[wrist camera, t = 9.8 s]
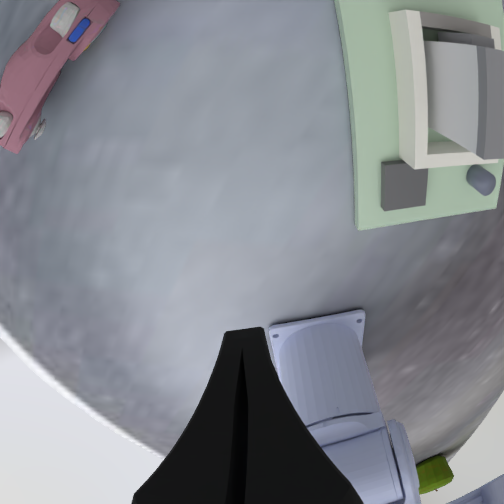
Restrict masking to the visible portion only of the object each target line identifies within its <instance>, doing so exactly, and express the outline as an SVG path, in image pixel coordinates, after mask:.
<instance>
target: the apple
mask: <svg viewBox="0 0 504 504" xmlns="http://www.w3.org/2000/svg"><path fill="white" fill-rule="evenodd" d="M416 470H417V474H418V479H419V488H418V490H419V495H420V494H424V493H427V492H430V491H433V490H436V489H437V488H440V487H442V486H445V485H446V484H448V483H450V482H451V481H452V479H453V477H454V475H453V473H452V470H451V469H450V467H449V465H448V463H447V461H446V458H445V457H443V456H439V455H438V456H434V457H432V458H429V459H427V460H425V461H423V462H422V463H420V464H418V465H417V466H416ZM436 491H437V490H436Z"/></svg>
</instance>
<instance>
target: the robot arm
mask: <svg viewBox="0 0 504 504" xmlns="http://www.w3.org/2000/svg"><path fill="white" fill-rule="evenodd" d="M364 324H365V312H364V311H363V310H355V311H350V312H345V313H340V314H335V315H329V316H324V317H319V318H313V319H307V320H302V321H296V322H290V323H284V324H277V325H272V326H271V327H269V335H270V340H271V344H272V349H273V353H274V358H275V362H276V367H277V371H278V375H277V373H276V371H275V368H274V366H273V363H272V361H271V357H270V353H269V349H268V345H267V341H266V336H265V332H264V328H262V327H255V328H248V329H241V330H233V331H226V333H225V334H224V337H223V341H222V345H221V348H220V351H219V355H218V358H217V361H216V364H215V366H214V369H213V372H212V374H211V377H210V379H209V382H208V384H207V387H206V389H205V391H204V393H203V395H202V398H201V400H200V402H199V404H198V406H197V408H196V410H195V412H194V414H193V416H192V418H191V420H190V421H189V423H188V425H187V427H186V428H185V430H184V431H183V433H182V435H181V436H180V438H179V439H178V441H177V442H176V444H175V445H174V447H173V448H172V450H171V451H170V453H169V454H168V455H167V456H166V458H165V459H164V460H163V462H162V463H161V464H160V466H159V467H158V468H157V469H156V471H155V472H154V473H153V474H152V475H151V476H150V477H149V479H148V480H147V481H146V482H145V483H144V484H143V485H142V486H141V487H140V488H139V489H138V490H137V491H136V492H135V493H134V496H133V500H132V504H421V500H420V495H419V490H418V488H419V479H418V474H417V470H416V466H415V461H414V458H413V454H412V450H411V447H410V443H409V440H408V436H407V433H406V430H405V428H404V425H403V424H402V423H400V422H396V420H395V419H392V420H389V421H387V423H388V427H389V430H390V437H389V433H388V430H387V426H386V423H385V420H384V417H383V414H382V412H381V410H380V406H379V403H378V400H377V396H376V393H375V389H374V386H373V383H372V379H371V376H370V373H369V370H368V367H367V363H366V360H365V357H364V354H363V351H362V341H363V333H364ZM278 376H279V377H278ZM390 438H391V441H390ZM391 442H392V445H391ZM392 446H393V448H392ZM399 475H400V476H399ZM400 478H401V479H400ZM446 504H504V474H503V475H501V476H499V477H497V478H496V479H494V480H492V481H491V482H488V483H487V484H485V485H483V486H482V487H480V488H478V489H476V490H474V491H472V492H470V493H468V494H466V495H464V496H462V497H460V498H458V499H456V500H454V501H451V502H449V503H446Z"/></svg>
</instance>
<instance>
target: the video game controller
mask: <svg viewBox="0 0 504 504" xmlns="http://www.w3.org/2000/svg"><path fill="white" fill-rule="evenodd" d="M119 6H120V3H119V2H118V1H116V0H59V1H58V2H57V3H56V4H55V6H54V7H53V8H52V9H51V10H50V11H49V12H48V13H47V15H46V16H45V17H44V19H43V20H42V21H41V23H40V24H39V25H38V27H37V28H36V30H35V31H34V32H33V34H32V35H31V36H30V37H29V39H28V40H27V41H26V42H24V43H23V44H22V45H21V46H20V47H19V48H18V49H17V51H16V52H15V53H14V54H13V55H12V56H11V58H10V60H9V61H8V63H7V65H6V67H5V71H4V74H3V77H2V80H1V84H0V145H1V146H3V148H5V149H7V150H9V151H11V152H14V153H16V154H18V153H19V151H20V150H21V148H22V146H23V144H24V143H25V142H26V141H27V140H28V138H29V137H31V136H32V135H33V134H35V133H36V135H35V137H34V140H35V139H37V138H38V137H39V136H41V135H42V133H43V131H44V129H45V127H46V125H45V124H46V119H44V120H43V121H42V123H41V124H40V121H41V110H42V107H43V105H44V103H45V101H46V99H47V97H48V95H49V93H50V91H51V89H52V87H53V86H54V84H55V82H56V80H57V79H58V77H59V75H60V73H61V71H60V69H61V68H62V67H63V65H64V64H65V62H66V61H67V59H70V60H72V61H75V60H76V59H77V58H78V57H79V55H80V54H81V53H82V52H83V51H85V50H86V49H87V48H88V47H89V46H90V44H91V43H92V42H93V41H94V40H95V39H96V38H97V37H98V36H99V35H100V33H101V32H102V31H103V30H104V28H105V27H106V25H107V22H108V20H109V19H110V18H111V17H112V15H113V14H114V13H115V11H116V10H117V9H118V7H119Z"/></svg>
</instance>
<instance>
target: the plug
mask: <svg viewBox="0 0 504 504" xmlns="http://www.w3.org/2000/svg"><path fill="white" fill-rule="evenodd" d="M438 40H439V42H436V41H424V51H425V62H426V76H427V98H428V127H429V128H431V129H433V130H434V131H436V132H438V133H440V134H442V135H443V136H445V137H447V138H449V139H451V140H452V141H454V142H456V143H457V144H459V145H461V146H462V147H464V148H466V149H467V150H469V151H471V152H472V153H474V154H475V155H477V156H479V157H480V158H482V159H483V160H488V159H504V51H502V50H497V49H495V45H494V39H492V38H488V37H484V36H479V35H474V34H466V33H450V32H438Z"/></svg>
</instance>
